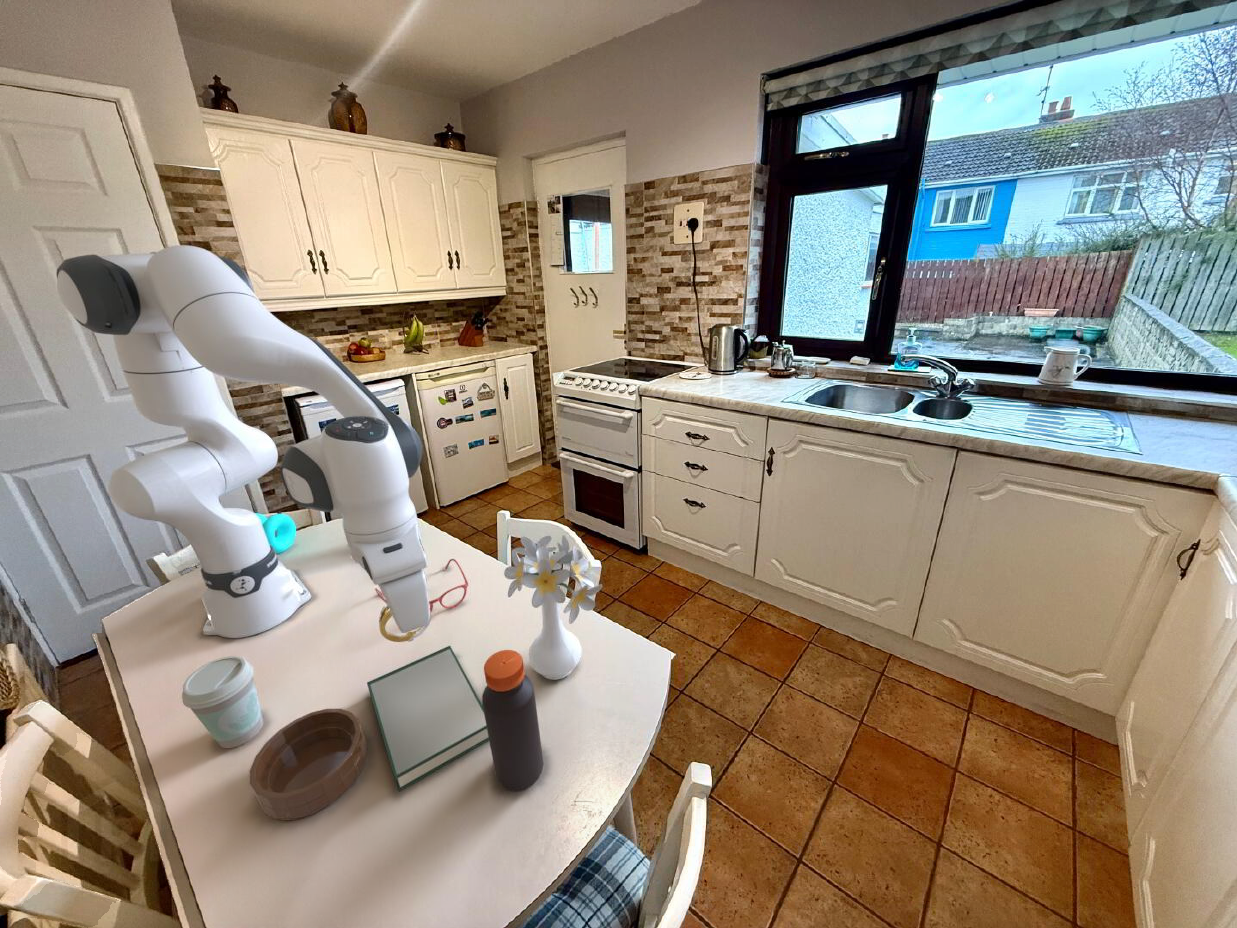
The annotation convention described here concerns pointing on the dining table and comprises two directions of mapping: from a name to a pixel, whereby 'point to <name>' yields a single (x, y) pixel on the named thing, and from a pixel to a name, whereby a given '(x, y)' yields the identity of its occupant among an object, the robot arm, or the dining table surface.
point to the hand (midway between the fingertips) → (405, 618)
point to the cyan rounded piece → (279, 531)
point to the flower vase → (552, 601)
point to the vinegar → (512, 721)
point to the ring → (397, 638)
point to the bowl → (308, 764)
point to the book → (427, 715)
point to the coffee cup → (225, 700)
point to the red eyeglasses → (444, 593)
